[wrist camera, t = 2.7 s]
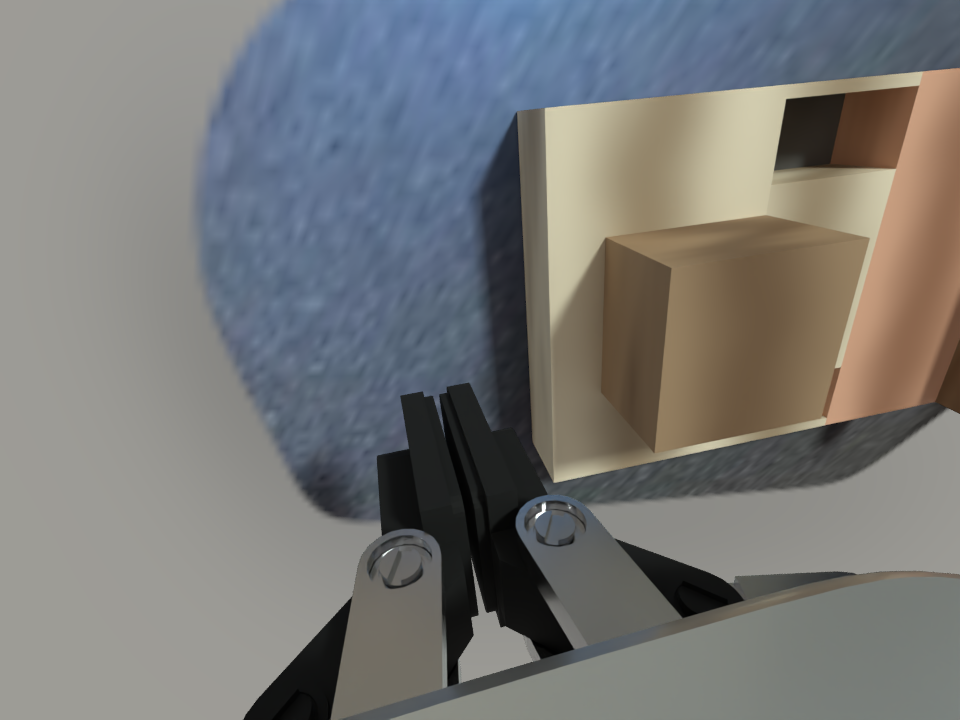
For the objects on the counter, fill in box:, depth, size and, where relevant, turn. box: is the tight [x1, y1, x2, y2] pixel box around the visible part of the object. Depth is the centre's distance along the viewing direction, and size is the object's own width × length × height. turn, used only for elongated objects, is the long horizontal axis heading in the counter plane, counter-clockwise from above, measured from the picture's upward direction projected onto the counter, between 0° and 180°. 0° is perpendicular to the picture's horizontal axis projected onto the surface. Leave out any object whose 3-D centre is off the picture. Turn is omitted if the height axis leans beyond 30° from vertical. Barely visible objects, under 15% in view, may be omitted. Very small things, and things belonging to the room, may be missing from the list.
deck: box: [517, 68, 960, 483], centre depth 19 cm, size 20×14×5 cm
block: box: [601, 215, 870, 453], centre depth 16 cm, size 6×6×4 cm
